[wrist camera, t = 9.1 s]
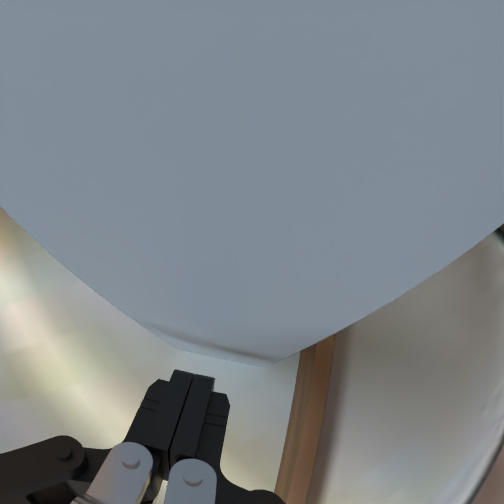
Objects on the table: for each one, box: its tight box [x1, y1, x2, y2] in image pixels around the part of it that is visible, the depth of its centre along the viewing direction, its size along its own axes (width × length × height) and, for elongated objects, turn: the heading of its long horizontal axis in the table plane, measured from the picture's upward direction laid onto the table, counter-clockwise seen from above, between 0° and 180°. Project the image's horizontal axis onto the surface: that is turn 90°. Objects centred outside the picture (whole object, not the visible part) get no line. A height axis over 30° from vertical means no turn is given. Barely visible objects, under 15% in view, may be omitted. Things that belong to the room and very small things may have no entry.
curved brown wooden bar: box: [274, 333, 335, 504], centre depth 18 cm, size 12×33×4 cm, turn 170°
